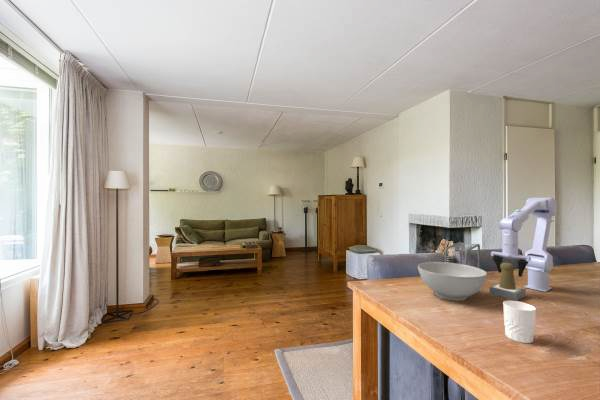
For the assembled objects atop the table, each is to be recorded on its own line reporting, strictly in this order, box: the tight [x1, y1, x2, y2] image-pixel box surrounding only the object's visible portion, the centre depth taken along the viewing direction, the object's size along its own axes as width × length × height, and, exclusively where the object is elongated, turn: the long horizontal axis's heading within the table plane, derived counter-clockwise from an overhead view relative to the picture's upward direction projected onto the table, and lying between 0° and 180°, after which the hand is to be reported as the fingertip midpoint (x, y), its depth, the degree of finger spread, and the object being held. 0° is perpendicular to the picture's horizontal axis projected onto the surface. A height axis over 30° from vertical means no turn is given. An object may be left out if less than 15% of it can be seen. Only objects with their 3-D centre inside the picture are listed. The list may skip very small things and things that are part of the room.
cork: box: [498, 262, 517, 290], centre depth 121 cm, size 6×6×11 cm
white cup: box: [502, 300, 537, 344], centre depth 83 cm, size 8×8×10 cm
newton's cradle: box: [444, 241, 481, 269], centre depth 148 cm, size 30×10×18 cm, turn 136°
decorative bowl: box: [417, 261, 488, 302], centre depth 119 cm, size 27×27×12 cm
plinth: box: [489, 283, 527, 301], centre depth 121 cm, size 10×10×3 cm
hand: (510, 274), depth 122 cm, fingers open, 7 cm apart
